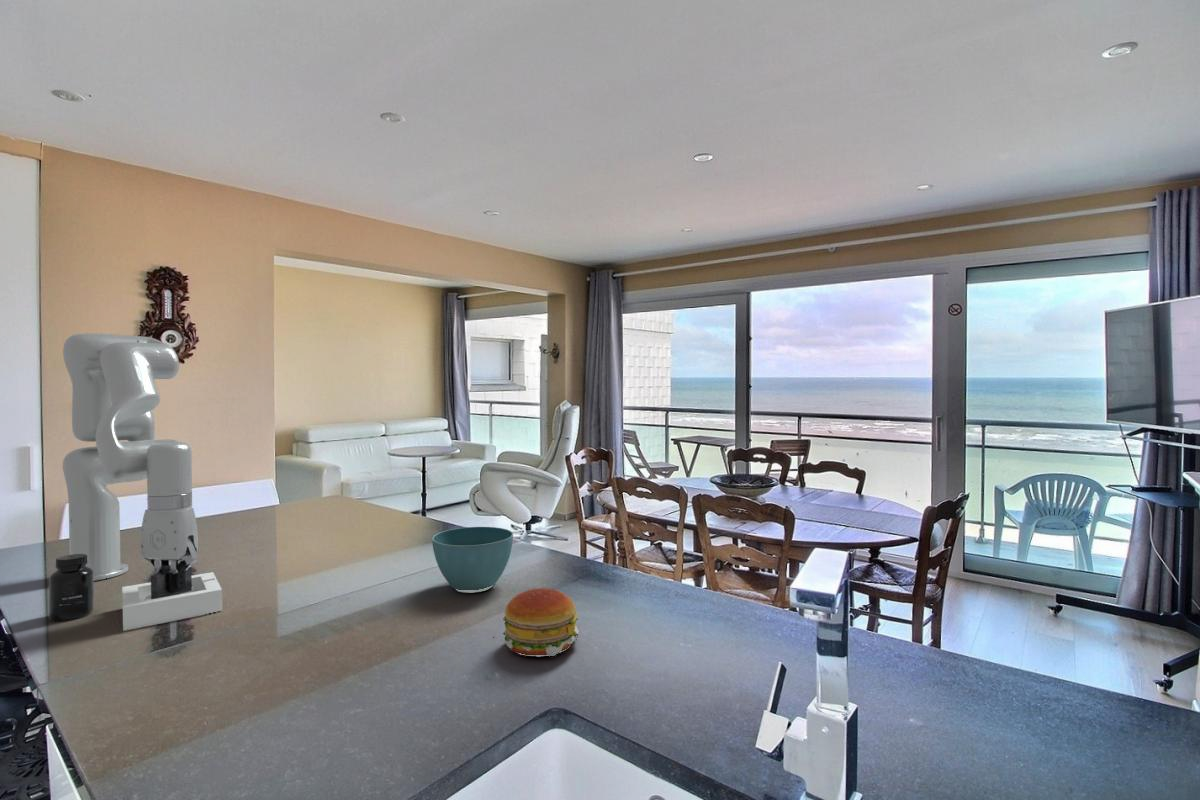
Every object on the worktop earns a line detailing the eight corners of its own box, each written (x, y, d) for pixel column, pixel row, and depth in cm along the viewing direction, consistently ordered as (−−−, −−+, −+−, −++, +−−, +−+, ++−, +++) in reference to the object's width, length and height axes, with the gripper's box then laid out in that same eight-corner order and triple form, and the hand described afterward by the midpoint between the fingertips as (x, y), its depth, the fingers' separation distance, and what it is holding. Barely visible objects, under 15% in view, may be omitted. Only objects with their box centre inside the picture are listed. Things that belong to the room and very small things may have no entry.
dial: (164, 612, 118) (163, 578, 118) (134, 606, 121) (133, 573, 121) (208, 597, 126) (207, 565, 126) (179, 592, 130) (178, 561, 130)
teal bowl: (415, 595, 132) (415, 540, 132) (463, 572, 149) (463, 523, 149) (485, 606, 126) (484, 548, 125) (527, 580, 142) (527, 529, 142)
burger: (495, 638, 110) (494, 584, 110) (564, 626, 115) (564, 575, 115) (514, 670, 98) (514, 609, 97) (590, 655, 103) (590, 598, 103)
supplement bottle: (67, 623, 117) (66, 562, 116) (39, 620, 118) (38, 560, 118) (103, 610, 123) (101, 553, 123) (76, 608, 125) (75, 551, 125)
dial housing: (122, 608, 125) (122, 586, 125) (213, 591, 135) (213, 571, 135) (123, 631, 113) (122, 606, 113) (222, 611, 123) (222, 588, 123)
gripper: (121, 504, 121) (122, 593, 122) (185, 507, 118) (186, 600, 118) (156, 497, 129) (157, 582, 129) (217, 500, 125) (218, 587, 126)
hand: (171, 590), depth 124 cm, fingers closed on dial, 2 cm apart
